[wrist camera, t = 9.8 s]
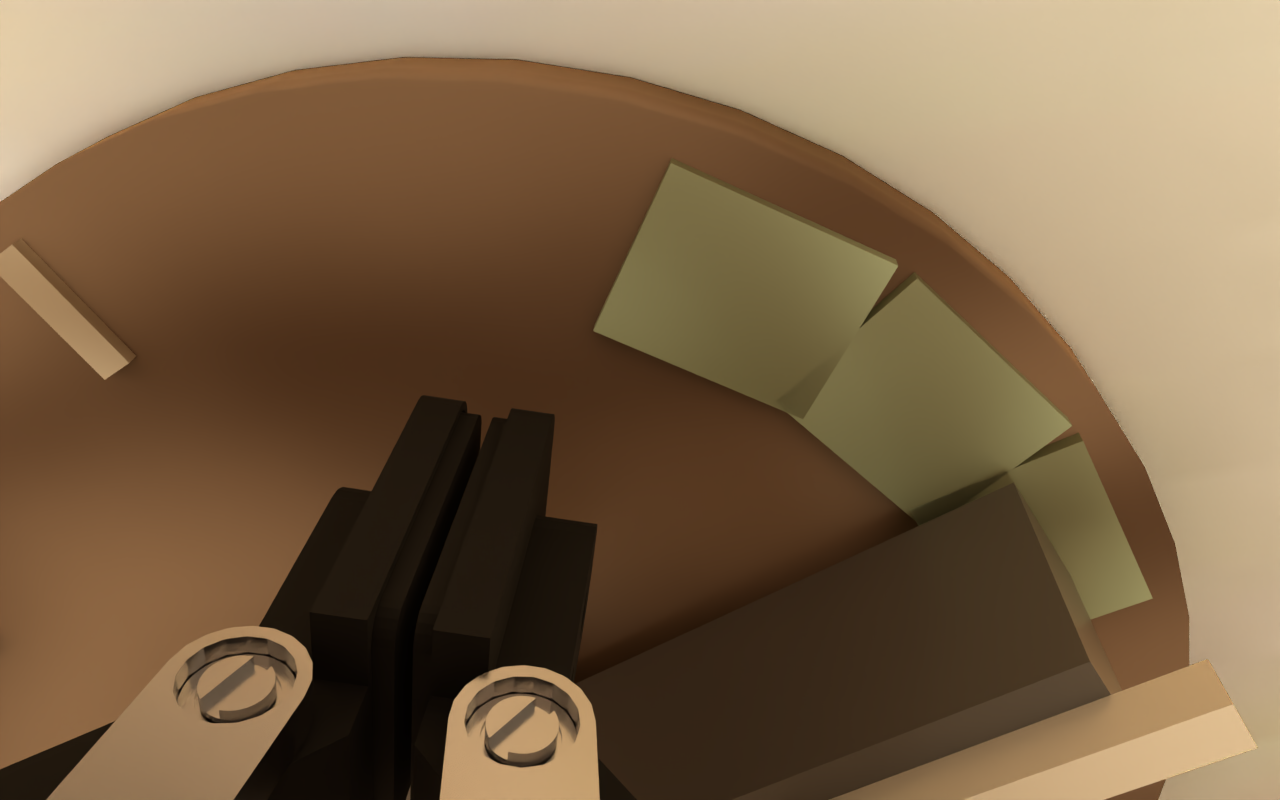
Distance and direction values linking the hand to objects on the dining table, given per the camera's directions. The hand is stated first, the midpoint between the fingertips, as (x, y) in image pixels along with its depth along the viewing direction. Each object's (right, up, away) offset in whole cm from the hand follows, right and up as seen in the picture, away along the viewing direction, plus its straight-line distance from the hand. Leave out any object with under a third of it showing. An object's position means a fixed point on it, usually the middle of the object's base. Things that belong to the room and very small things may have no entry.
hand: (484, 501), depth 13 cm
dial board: (0, -4, +5) cm, 7 cm away
